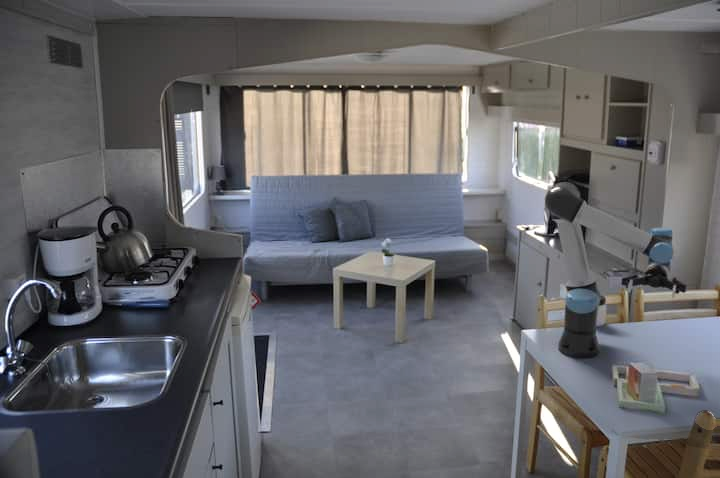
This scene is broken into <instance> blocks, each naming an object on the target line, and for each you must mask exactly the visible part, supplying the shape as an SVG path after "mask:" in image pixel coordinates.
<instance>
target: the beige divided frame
mask: <svg viewBox="0 0 720 478" xmlns="http://www.w3.org/2000/svg"><path fill="white" fill-rule="evenodd" d="M626 367H628V366H625V365H616V364H612V367H611V369H612V370H611V373H612V382H613V383H612V384H613V386H614V387H617V380H621V381H628V379H626V378H625V379H624V378H619V374H623V375H625V371H626ZM654 370H655V371H656V372H657V373H658V378H657V385H660V388H661V392H662V393H668V394H675V395H681V396H682V395H683V396H691V397H696V398H697V397H698V398H699V397H700V394H701V388H700V386H699V383H698V381H697V378H696V376H695V374H694V373H685V372H678V371H669V370H661V369H654ZM658 379H665V380H670V381H679V382H680V381H681V382H689V385H690V386H686V385H682V384H674V383H671V384H668V383H659V381H658Z"/></svg>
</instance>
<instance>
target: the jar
mask: <svg viewBox="0 0 720 478" xmlns="http://www.w3.org/2000/svg"><path fill="white" fill-rule="evenodd" d="M600 297H601V299H600V303H599V307H598V311H597V322H596V327H597V326H599V327H602V326H604V325H605V324H606V314H607V313H606V311H607V303H606V299H607V298H606V297H605V296H604V295H601V294H600Z"/></svg>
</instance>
